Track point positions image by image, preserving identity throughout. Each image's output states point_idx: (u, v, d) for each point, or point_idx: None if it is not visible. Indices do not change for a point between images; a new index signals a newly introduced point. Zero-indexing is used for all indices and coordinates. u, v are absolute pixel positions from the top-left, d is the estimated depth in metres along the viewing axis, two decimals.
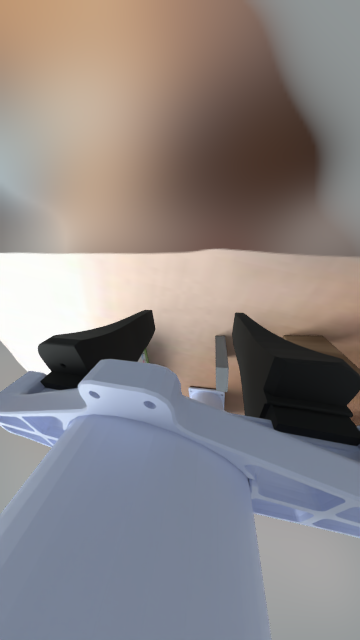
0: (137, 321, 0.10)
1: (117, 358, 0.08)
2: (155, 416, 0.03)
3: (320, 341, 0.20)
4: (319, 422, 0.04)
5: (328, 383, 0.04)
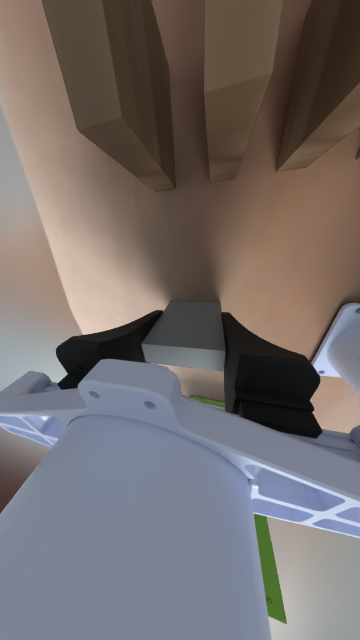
0: (150, 322, 0.10)
1: (133, 360, 0.08)
2: (155, 416, 0.03)
3: None
4: (282, 416, 0.05)
5: (289, 378, 0.05)
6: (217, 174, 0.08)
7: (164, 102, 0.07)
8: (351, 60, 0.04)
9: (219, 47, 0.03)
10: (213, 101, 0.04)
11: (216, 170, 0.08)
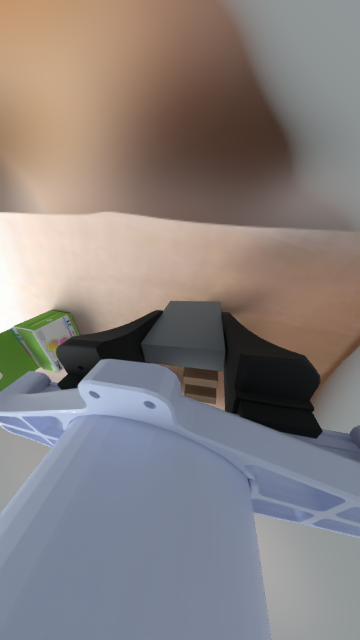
0: (150, 322, 0.10)
1: (133, 360, 0.08)
2: (155, 416, 0.03)
3: None
4: (282, 416, 0.05)
5: (289, 378, 0.05)
6: None
7: None
8: None
9: None
10: None
11: None
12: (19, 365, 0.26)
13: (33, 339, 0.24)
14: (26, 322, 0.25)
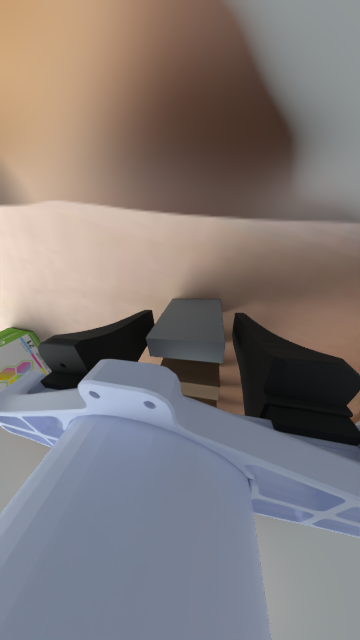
0: (137, 321, 0.10)
1: (117, 358, 0.08)
2: (155, 416, 0.03)
3: None
4: (319, 422, 0.04)
5: (328, 383, 0.04)
6: None
7: None
8: None
9: None
10: None
11: None
12: None
13: None
14: None
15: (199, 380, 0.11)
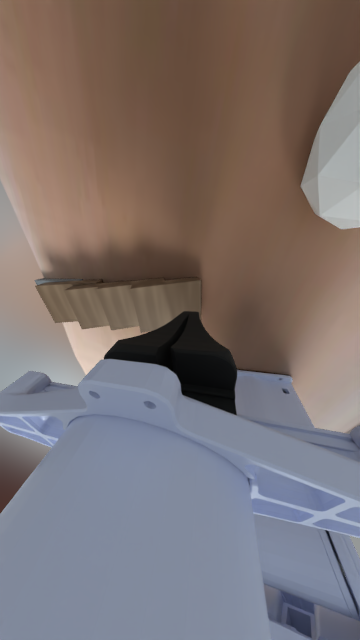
0: (183, 323, 0.10)
1: None
2: (155, 416, 0.03)
3: None
4: (207, 403, 0.05)
5: (211, 369, 0.05)
6: None
7: None
8: None
9: None
10: None
11: None
12: None
13: None
14: None
15: None
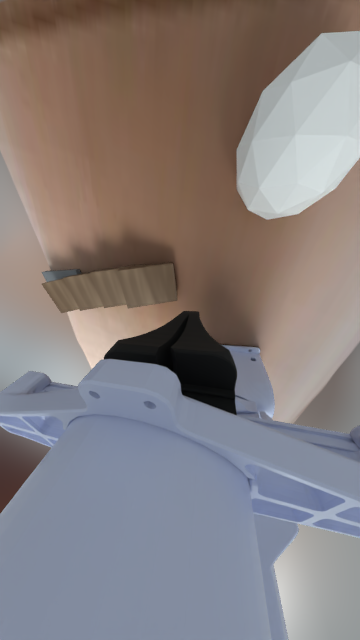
0: (183, 323, 0.10)
1: None
2: (155, 416, 0.03)
3: None
4: (208, 403, 0.05)
5: (211, 369, 0.05)
6: None
7: None
8: None
9: None
10: None
11: None
12: None
13: None
14: None
15: None
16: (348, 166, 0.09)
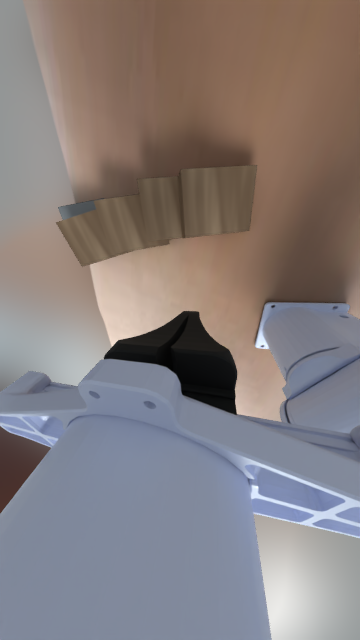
0: (183, 323, 0.10)
1: None
2: (155, 416, 0.03)
3: None
4: (208, 403, 0.05)
5: (211, 369, 0.05)
6: None
7: None
8: None
9: None
10: None
11: None
12: None
13: None
14: None
15: None
16: None
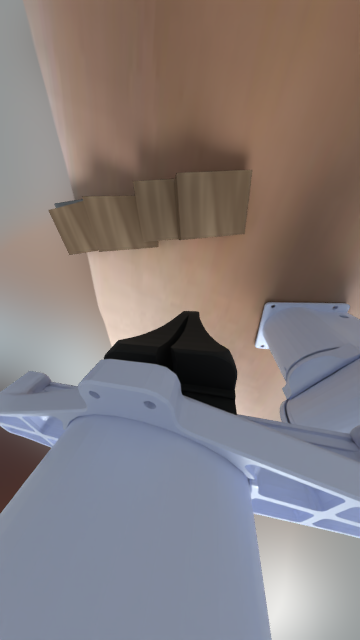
0: (183, 323, 0.10)
1: None
2: (155, 416, 0.03)
3: None
4: (208, 403, 0.05)
5: (211, 369, 0.05)
6: None
7: None
8: None
9: None
10: None
11: None
12: None
13: None
14: None
15: None
16: None
